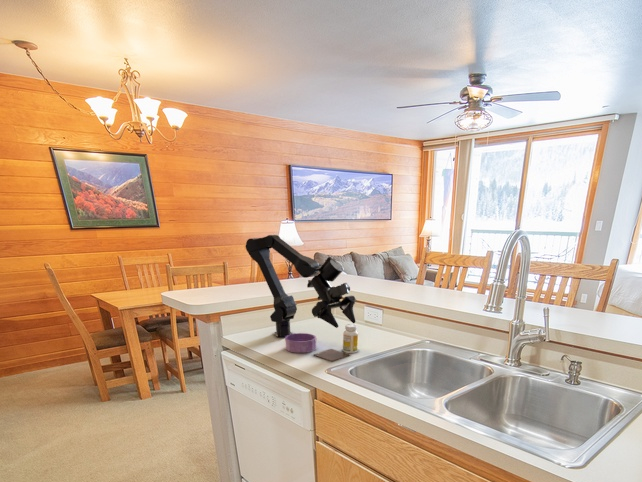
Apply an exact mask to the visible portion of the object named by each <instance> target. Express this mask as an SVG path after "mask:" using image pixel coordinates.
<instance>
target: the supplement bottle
mask: <svg viewBox="0 0 642 482" xmlns="http://www.w3.org/2000/svg"><path fill="white" fill-rule="evenodd" d="M344 327H345V328H344V329H345V330H344V331H343V334H342V335H343V336H342V352H343V353H345V354H355V353H357V352H358V350H359V349H358V348H359V347H358V344H359V333H358V331H357V324H354V323H351V324H350V323H349V324H345V326H344Z"/></svg>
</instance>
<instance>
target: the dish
mask: <svg viewBox="0 0 642 482" xmlns="http://www.w3.org/2000/svg"><path fill="white" fill-rule="evenodd" d="M284 347H285V348H284V349H285V350H286V351H288V352H291V353H295V354H305V353H310V352H313V351H316V349H317V336H316V335H314V334H312V333H306V332H296V333H295V332H294V333H292V334H290V335H287V336H286V337H284Z"/></svg>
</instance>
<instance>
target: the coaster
mask: <svg viewBox="0 0 642 482" xmlns="http://www.w3.org/2000/svg"><path fill="white" fill-rule="evenodd" d="M313 356H314V357H317V358H320V359H324V360H326V361H330V362H335V361H337V360H340V359H344V358H347V357H349V356H350V353H346V352H343V351H339V350H336V349H328V350H325V351H321V352H318V353H315V354H313Z"/></svg>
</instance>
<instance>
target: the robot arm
mask: <svg viewBox="0 0 642 482" xmlns="http://www.w3.org/2000/svg"><path fill="white" fill-rule="evenodd" d="M244 246H245V250H246V252H247V254H248V255H249V256H250V258H251V259H252V260H253V261H254V262H256V263H257V264H258V267H259V270H260V272H261V273H262V276H263V278H264V280H265V282H266V284H267V287H268V289H269V291H270V293H271V295H272V297H273V308H274V311H273V312H272V313H271V314H270V316H269V317H270V321H271V322H274V323H275V331H274V332H273V333H274V335H275V337H276V338H285V337H286V336H287V335H290V334H293V333H292V332H291V320H294V318H295V315H296V313H297V310H298V308H297V305H298V304H297V303H296V301H295V299H294V296H293V295H288V294H287V293H286V292H285V290H284V287H283V285H282V283H281V280H280V278H279V276H278V274H277V272H276V269H275V268H274V266H273V265H274V264H273V263H272V261H271V249H272V250H274V251H275V252H277V253H278V254H279V255H280V256H282V257H283V258H285V260H287V261H288V262H289V263H291V264H292V266H293V267H294V269H295V271H296V272H297V273H298V274H299V275H300V276H301V277H302V278H304V279H305V278H311V279H308V280H307V285H306V287H307V288H313V289H314V291H315V292H316V294H317V300H318V301H317V302H316V303H315V305H314V306H313V307H312V309H311V314H312V316H313V317H314V318H317V319H320V320H322V321H324V322H326V323H328V324H329V325H331V326H333V327H334V328H336V329H337V328H339V323H338V322H337V320H336V318H335V316H334V315H333V313H332V309H337V308H338V309H340V310H341V313H342V314H343V315H344V316H345V317H346V318H347V320H349V321H350V322H351V324H355V323H356V322H357V321H356V317H355V312H354V305H355V304H356V302H357V299H356V297H355V296H354V295H348V294H349V292H350V291H351V287H350V285H349V284H348V282H343V283H340V285H337V286H332V285H331V284H330V282H331V283H333V282H335V280H336V279H337V278H338V277H339V276H340V275H341V274H342V273H343V272H344V266H343V264H342V263H341V262H339V261H338V260H337V259H336V258H334V257H333V256H328V257H327V258H326V259H325V262H323V264H321V263H319V262H318V261H317V260H315V259H313V258H311V257H309V256H306V255H303V254H301V253H300V252H299V251H298V250H296V249H295V248H294V247H292V246H291V245H290V244H288V243H287V242H286V241H284V240H283V239H282V238H281V237H280V235H278V234H268V235H266V236H263V237H253V238H248V239H247V240H246V241H245V245H244ZM344 295H345V296H344ZM343 296H344V297H343Z"/></svg>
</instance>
